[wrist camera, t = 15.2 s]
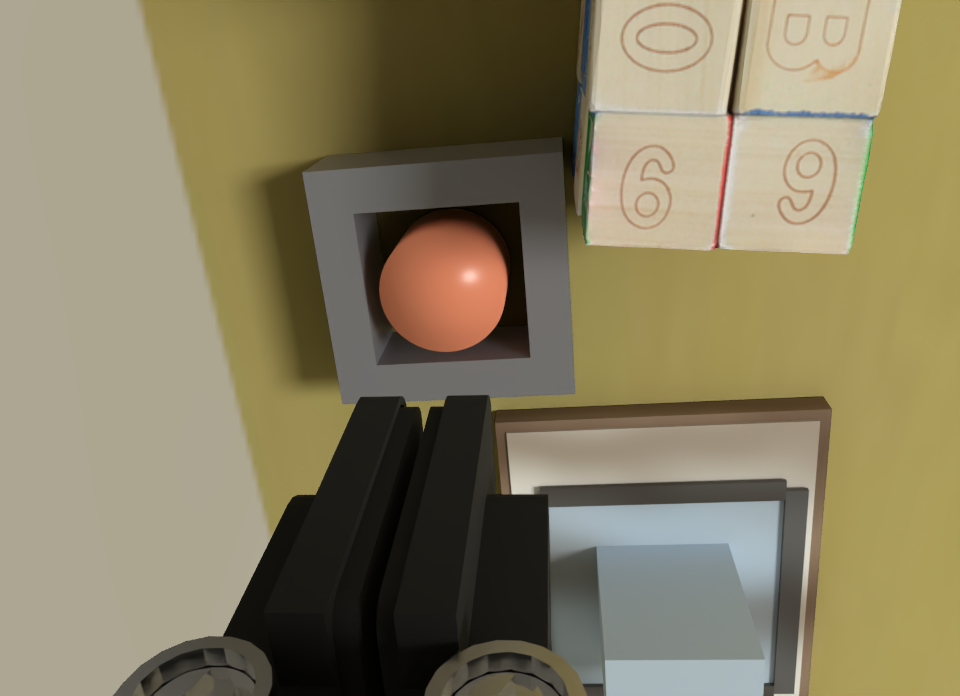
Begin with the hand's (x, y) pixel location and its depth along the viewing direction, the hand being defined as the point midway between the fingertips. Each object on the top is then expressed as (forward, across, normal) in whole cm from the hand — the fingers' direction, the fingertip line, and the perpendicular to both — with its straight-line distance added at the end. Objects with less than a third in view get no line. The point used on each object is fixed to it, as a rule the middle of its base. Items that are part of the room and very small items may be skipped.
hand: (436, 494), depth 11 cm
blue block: (+17, -6, +17) cm, 24 cm away
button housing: (+18, +2, +3) cm, 19 cm away
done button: (+18, +2, +3) cm, 18 cm away
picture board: (+18, -6, +17) cm, 25 cm away
